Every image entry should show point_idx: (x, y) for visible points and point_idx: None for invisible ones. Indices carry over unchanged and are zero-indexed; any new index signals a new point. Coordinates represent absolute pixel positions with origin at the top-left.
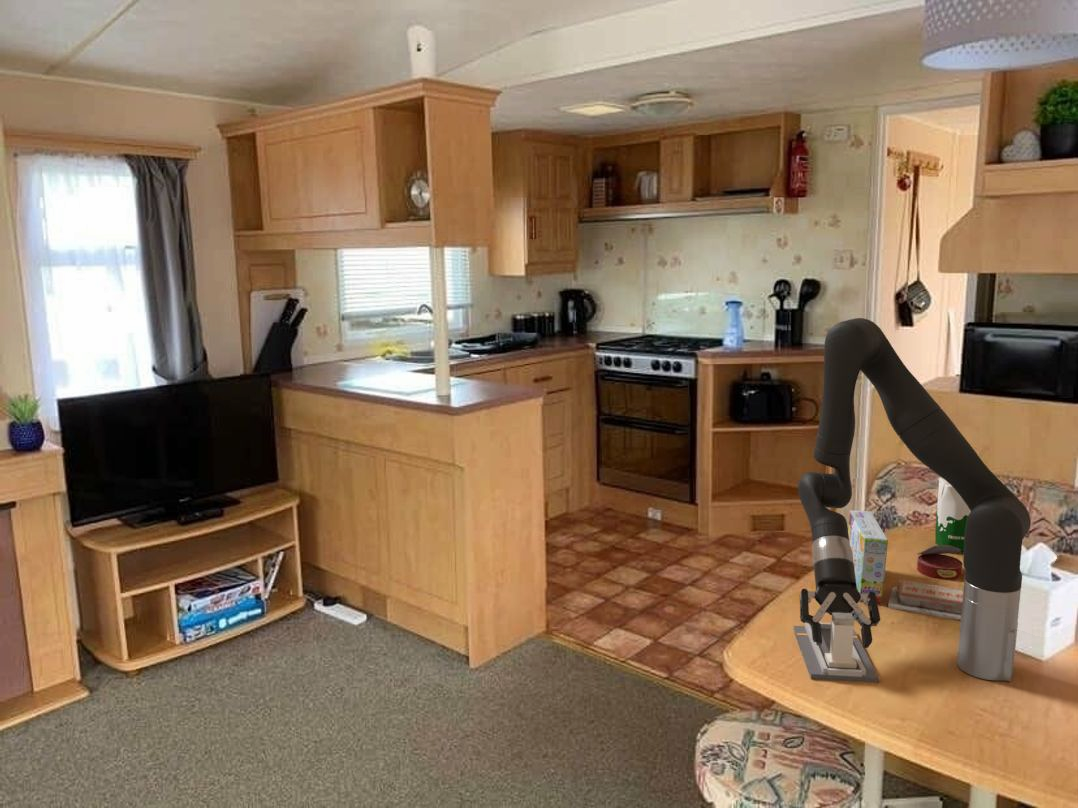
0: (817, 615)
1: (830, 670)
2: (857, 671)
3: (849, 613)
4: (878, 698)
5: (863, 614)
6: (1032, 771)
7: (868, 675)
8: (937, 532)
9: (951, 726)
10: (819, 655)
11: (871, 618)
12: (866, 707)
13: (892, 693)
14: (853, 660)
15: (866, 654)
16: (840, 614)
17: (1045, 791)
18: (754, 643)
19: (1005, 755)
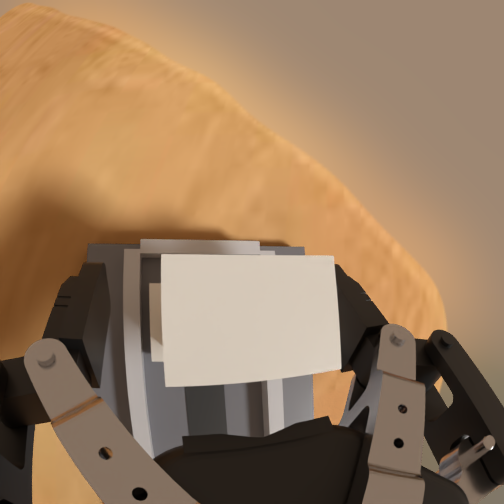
0: (402, 356)
1: (251, 242)
2: (157, 239)
3: (186, 377)
4: (124, 161)
5: (56, 407)
6: (10, 26)
7: (117, 255)
8: None
9: (29, 85)
10: None
11: (14, 390)
12: (173, 120)
13: (76, 191)
14: (156, 308)
15: None
16: (277, 342)
17: (29, 4)
18: None
19: (12, 42)
